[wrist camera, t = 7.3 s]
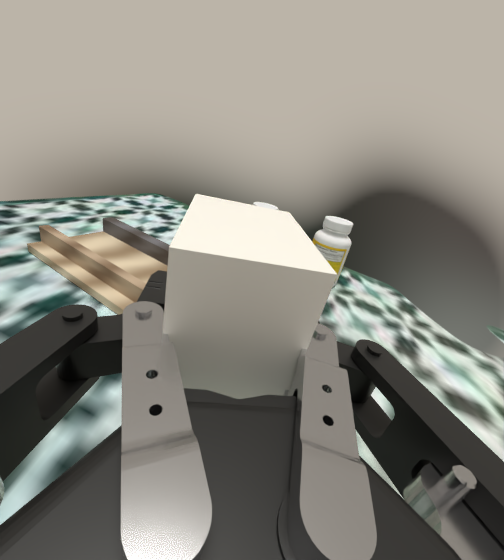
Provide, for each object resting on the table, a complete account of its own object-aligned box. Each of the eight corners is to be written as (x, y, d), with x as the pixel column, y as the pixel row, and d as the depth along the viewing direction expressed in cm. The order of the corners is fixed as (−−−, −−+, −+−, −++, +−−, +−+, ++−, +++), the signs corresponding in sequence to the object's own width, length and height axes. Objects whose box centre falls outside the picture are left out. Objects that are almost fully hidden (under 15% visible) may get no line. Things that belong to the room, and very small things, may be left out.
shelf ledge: (28, 251, 33) (23, 227, 31) (119, 235, 42) (118, 216, 41) (184, 361, 22) (187, 333, 21) (257, 307, 32) (262, 285, 31)
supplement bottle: (313, 269, 46) (332, 213, 42) (341, 283, 43) (365, 225, 39) (295, 275, 42) (314, 214, 38) (324, 292, 39) (349, 228, 35)
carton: (152, 468, 11) (169, 247, 7) (177, 355, 17) (195, 193, 12) (257, 471, 12) (337, 274, 7) (247, 361, 18) (289, 212, 13)
